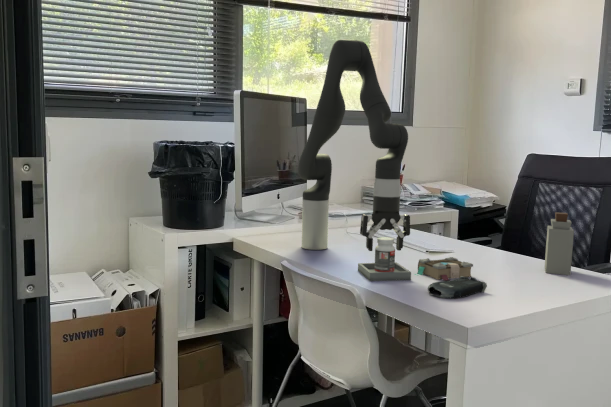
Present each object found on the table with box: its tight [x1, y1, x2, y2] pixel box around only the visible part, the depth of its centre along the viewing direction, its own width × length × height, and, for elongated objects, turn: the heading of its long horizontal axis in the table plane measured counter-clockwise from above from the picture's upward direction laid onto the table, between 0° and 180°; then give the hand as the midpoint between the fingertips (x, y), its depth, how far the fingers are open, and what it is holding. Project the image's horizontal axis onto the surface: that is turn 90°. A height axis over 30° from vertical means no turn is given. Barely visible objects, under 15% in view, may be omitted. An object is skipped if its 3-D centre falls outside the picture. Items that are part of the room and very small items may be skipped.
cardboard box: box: [414, 256, 474, 281], centre depth 167 cm, size 20×12×5 cm, turn 112°
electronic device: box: [427, 276, 488, 299], centre depth 149 cm, size 9×6×15 cm
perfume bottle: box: [544, 211, 575, 276], centre depth 174 cm, size 7×7×18 cm
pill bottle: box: [374, 236, 396, 272], centre depth 165 cm, size 6×6×10 cm
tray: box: [357, 261, 412, 282], centre depth 166 cm, size 12×12×2 cm
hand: (384, 250), depth 165 cm, fingers open, 8 cm apart
